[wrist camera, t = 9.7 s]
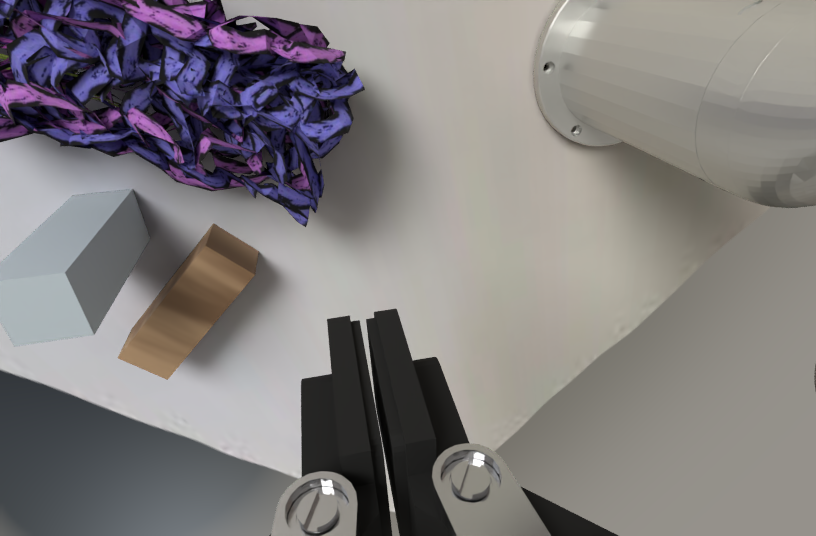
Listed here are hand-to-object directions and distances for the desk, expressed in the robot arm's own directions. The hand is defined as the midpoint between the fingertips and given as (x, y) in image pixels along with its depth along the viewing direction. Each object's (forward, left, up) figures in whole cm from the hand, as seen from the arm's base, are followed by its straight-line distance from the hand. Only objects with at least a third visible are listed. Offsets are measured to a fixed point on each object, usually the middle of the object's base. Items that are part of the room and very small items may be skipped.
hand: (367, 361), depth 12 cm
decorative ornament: (+12, -5, -28) cm, 31 cm away
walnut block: (+8, +9, -25) cm, 28 cm away
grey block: (+16, +6, -27) cm, 32 cm away
